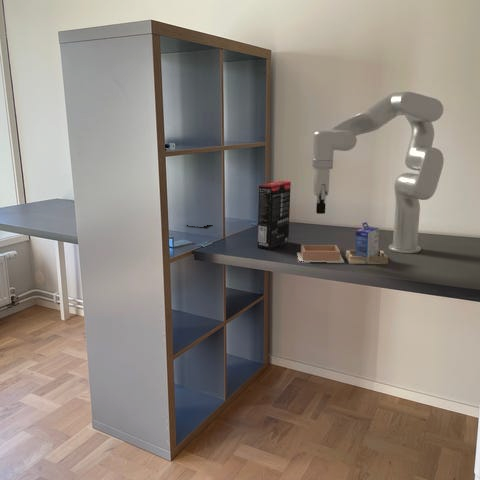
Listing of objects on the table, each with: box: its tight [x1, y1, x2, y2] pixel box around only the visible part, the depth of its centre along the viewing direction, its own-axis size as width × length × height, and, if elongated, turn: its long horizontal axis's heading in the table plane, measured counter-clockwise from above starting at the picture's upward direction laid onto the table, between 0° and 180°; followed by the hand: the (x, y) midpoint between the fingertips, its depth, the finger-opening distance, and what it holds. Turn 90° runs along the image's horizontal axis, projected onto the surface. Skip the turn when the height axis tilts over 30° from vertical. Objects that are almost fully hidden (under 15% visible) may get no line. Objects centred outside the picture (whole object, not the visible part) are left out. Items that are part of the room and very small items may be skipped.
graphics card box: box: [256, 180, 292, 250], centre depth 211 cm, size 17×7×27 cm, turn 147°
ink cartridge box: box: [355, 221, 380, 265], centre depth 188 cm, size 10×6×14 cm, turn 142°
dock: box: [296, 244, 345, 264], centre depth 192 cm, size 12×17×4 cm
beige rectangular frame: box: [345, 249, 389, 265], centre depth 190 cm, size 10×14×3 cm
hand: (320, 213), depth 188 cm, fingers closed
